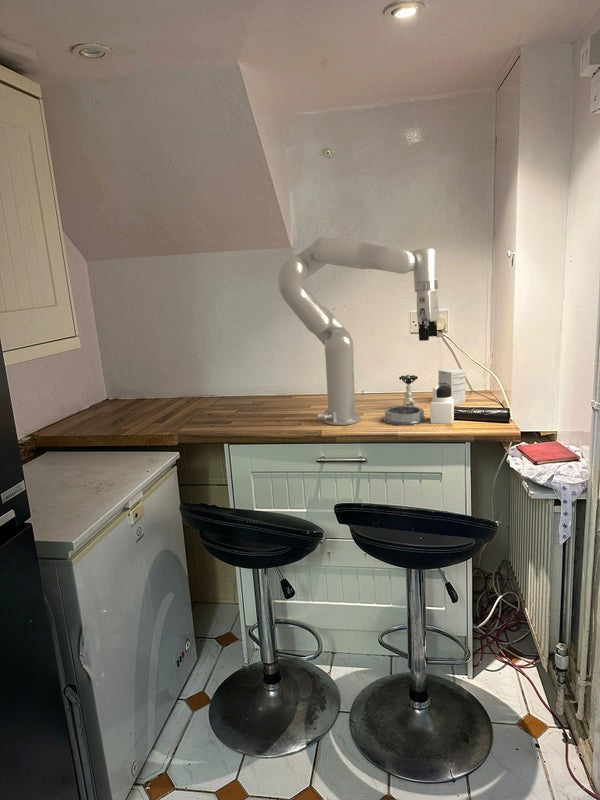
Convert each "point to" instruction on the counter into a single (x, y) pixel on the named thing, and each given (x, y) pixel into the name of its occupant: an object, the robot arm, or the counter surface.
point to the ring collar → (404, 415)
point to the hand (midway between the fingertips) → (428, 338)
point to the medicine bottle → (442, 405)
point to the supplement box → (454, 382)
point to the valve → (408, 389)
